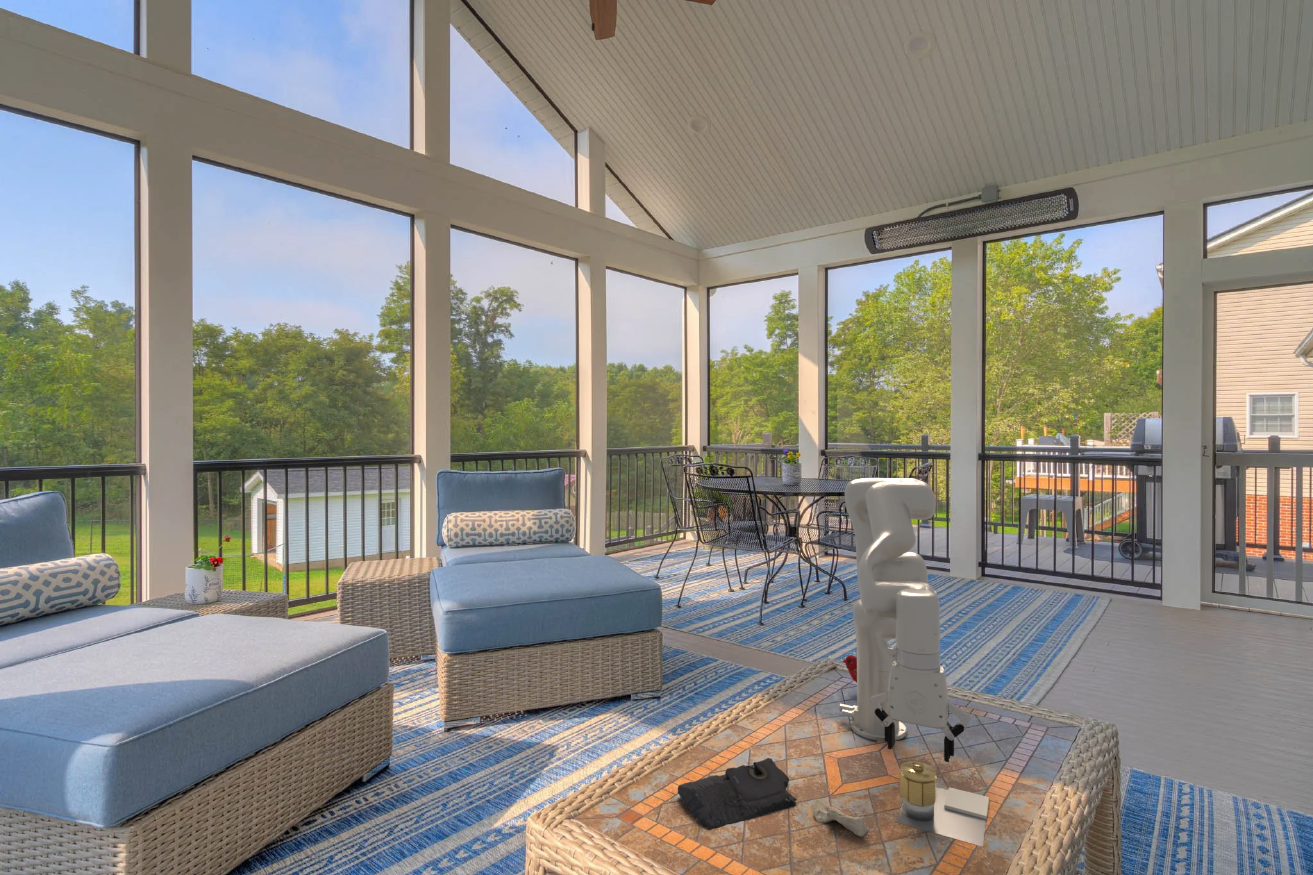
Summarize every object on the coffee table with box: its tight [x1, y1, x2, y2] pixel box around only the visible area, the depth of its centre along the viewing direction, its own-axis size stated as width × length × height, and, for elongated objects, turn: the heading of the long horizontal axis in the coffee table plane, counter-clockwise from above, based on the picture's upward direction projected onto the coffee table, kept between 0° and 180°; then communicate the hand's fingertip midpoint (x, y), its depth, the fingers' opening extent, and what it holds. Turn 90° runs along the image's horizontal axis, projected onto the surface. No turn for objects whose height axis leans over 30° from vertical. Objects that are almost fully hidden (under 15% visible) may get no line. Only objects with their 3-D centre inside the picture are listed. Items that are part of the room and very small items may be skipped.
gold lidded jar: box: [899, 760, 937, 806], centre depth 120 cm, size 6×6×6 cm
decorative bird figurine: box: [841, 654, 857, 684], centre depth 176 cm, size 3×18×10 cm, turn 67°
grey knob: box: [901, 797, 934, 821], centre depth 120 cm, size 5×5×7 cm
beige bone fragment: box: [811, 799, 870, 838], centre depth 117 cm, size 6×10×4 cm, turn 50°
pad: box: [944, 786, 990, 820], centre depth 122 cm, size 7×7×1 cm
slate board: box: [895, 786, 987, 848], centre depth 120 cm, size 14×16×1 cm
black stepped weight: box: [677, 757, 798, 830], centre depth 127 cm, size 15×22×5 cm
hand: (918, 752), depth 119 cm, fingers open, 9 cm apart
